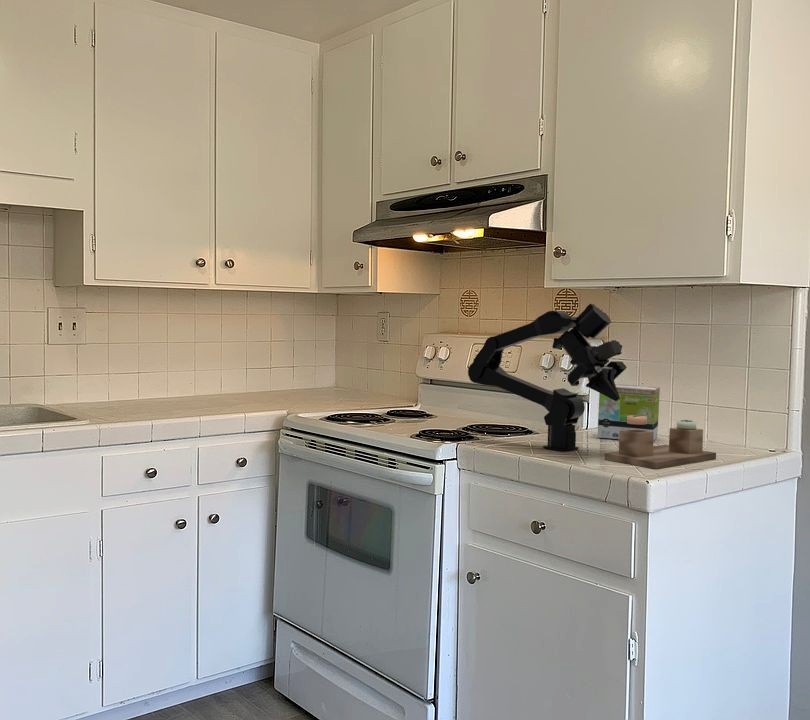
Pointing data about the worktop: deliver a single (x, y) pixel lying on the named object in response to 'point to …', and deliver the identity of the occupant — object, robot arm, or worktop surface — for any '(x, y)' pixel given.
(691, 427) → the button
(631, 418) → the button
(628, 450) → the console
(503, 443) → the worktop surface
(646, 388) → the tea box
